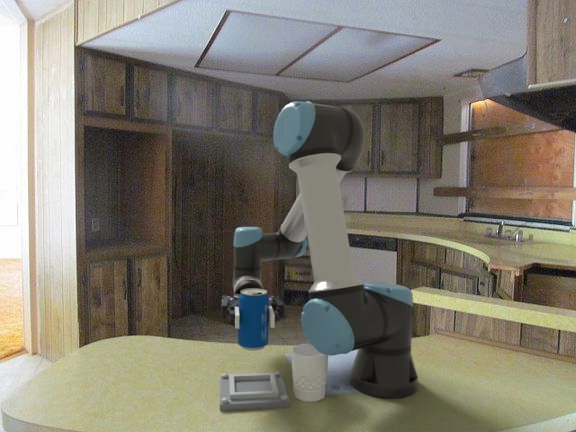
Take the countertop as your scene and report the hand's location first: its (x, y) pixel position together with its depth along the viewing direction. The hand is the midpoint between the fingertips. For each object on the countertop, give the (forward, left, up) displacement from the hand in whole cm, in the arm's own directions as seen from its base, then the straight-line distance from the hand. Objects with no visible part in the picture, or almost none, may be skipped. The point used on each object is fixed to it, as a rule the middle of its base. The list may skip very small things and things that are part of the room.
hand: (255, 321), depth 95 cm
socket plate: (0, -5, -17) cm, 18 cm away
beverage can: (0, -5, -7) cm, 9 cm away
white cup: (-12, -3, -17) cm, 21 cm away
